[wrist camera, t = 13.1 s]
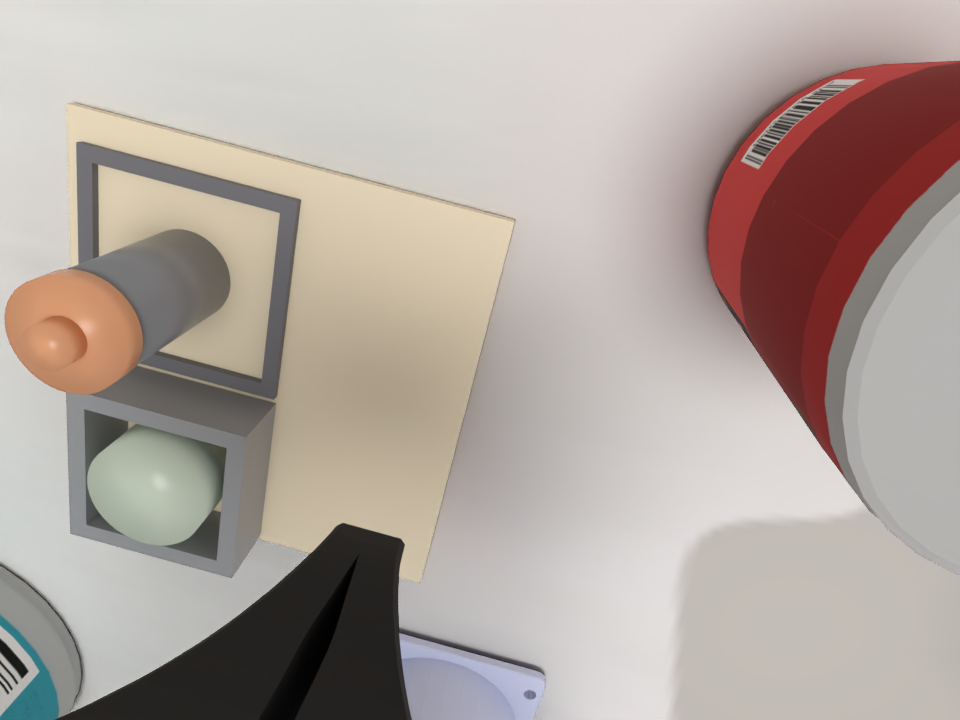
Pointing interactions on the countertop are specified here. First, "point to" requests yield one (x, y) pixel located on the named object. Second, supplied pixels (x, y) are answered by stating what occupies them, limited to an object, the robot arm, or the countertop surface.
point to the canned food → (859, 282)
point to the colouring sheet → (311, 314)
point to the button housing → (189, 415)
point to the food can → (34, 656)
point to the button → (157, 484)
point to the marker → (115, 309)
